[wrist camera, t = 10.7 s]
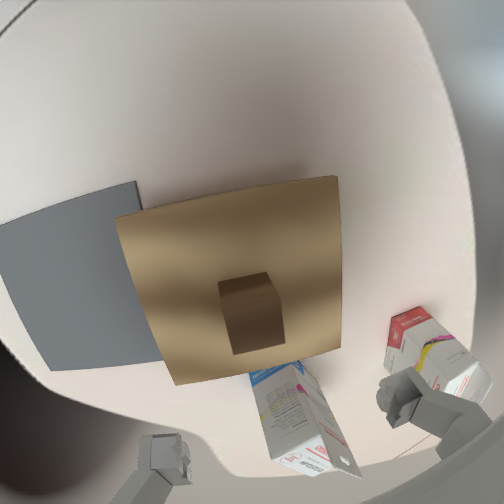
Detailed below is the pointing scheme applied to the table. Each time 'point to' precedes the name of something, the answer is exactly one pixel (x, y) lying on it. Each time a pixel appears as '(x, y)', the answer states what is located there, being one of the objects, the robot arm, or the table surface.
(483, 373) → the ink cartridge box
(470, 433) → the robot arm
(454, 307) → the table surface
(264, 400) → the ink box
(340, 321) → the oak cover
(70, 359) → the rubber mat
